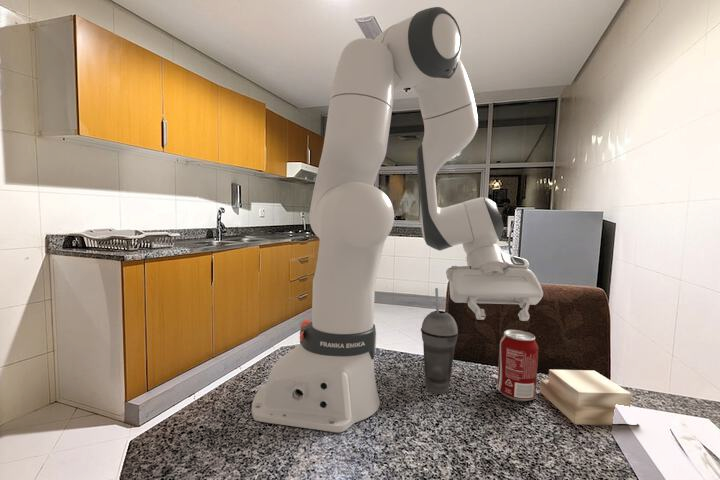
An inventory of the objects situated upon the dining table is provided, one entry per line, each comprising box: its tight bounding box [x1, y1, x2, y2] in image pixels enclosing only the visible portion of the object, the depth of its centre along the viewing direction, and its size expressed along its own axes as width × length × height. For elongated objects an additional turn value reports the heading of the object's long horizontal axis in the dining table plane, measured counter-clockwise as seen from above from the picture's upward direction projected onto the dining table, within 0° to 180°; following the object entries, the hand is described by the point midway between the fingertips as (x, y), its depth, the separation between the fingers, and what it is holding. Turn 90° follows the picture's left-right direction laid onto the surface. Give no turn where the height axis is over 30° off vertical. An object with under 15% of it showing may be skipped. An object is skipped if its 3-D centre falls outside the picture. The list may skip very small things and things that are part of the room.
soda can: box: [496, 329, 539, 402], centre depth 67 cm, size 7×7×12 cm
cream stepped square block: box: [539, 368, 635, 426], centre depth 63 cm, size 11×11×5 cm
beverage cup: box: [420, 287, 459, 395], centre depth 68 cm, size 7×7×20 cm
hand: (503, 318), depth 74 cm, fingers open, 8 cm apart
